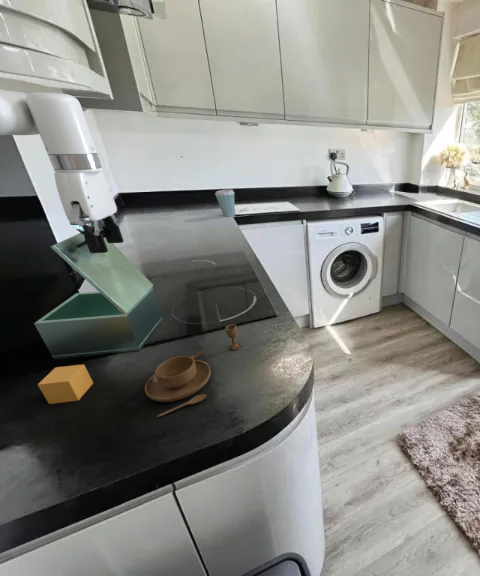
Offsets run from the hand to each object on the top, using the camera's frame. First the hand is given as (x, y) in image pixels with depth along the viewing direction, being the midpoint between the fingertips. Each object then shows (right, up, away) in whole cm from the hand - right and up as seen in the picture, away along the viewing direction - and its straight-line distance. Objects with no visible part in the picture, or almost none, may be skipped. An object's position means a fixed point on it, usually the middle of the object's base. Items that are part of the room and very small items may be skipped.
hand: (107, 246), depth 73 cm
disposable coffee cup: (-33, +36, +127) cm, 136 cm away
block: (0, -31, -8) cm, 32 cm away
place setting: (+23, -29, -3) cm, 37 cm away
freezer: (-6, -22, +9) cm, 25 cm away
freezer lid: (-2, -5, +2) cm, 6 cm away
